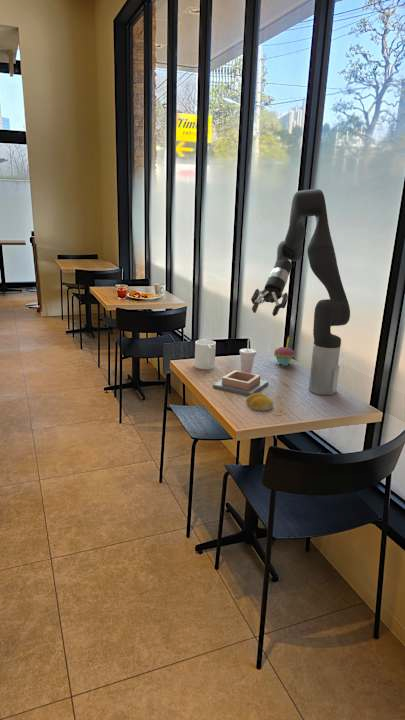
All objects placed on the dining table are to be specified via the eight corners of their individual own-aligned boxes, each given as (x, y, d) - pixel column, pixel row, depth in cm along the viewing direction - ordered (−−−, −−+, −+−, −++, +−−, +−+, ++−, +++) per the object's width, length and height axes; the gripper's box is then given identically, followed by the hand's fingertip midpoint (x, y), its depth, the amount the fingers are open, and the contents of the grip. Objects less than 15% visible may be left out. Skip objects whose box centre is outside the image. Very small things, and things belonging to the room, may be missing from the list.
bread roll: (254, 413, 154) (255, 401, 152) (242, 402, 162) (243, 391, 160) (277, 410, 156) (278, 398, 155) (264, 400, 164) (265, 389, 163)
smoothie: (254, 372, 191) (257, 338, 187) (254, 377, 185) (257, 342, 181) (238, 371, 192) (240, 337, 188) (237, 376, 186) (240, 341, 182)
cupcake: (281, 359, 209) (284, 332, 206) (297, 364, 204) (300, 337, 200) (269, 363, 204) (271, 335, 200) (285, 368, 198) (287, 340, 194)
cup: (199, 372, 188) (200, 348, 185) (192, 363, 199) (193, 339, 196) (220, 371, 191) (221, 347, 188) (211, 362, 202) (212, 339, 199)
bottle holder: (268, 384, 179) (268, 374, 178) (251, 396, 166) (251, 386, 165) (231, 376, 186) (232, 367, 185) (212, 387, 173) (213, 377, 172)
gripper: (259, 273, 199) (245, 305, 193) (291, 277, 192) (278, 310, 186) (263, 285, 205) (249, 316, 199) (295, 289, 198) (282, 321, 192)
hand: (263, 313), depth 193 cm, fingers open, 8 cm apart
